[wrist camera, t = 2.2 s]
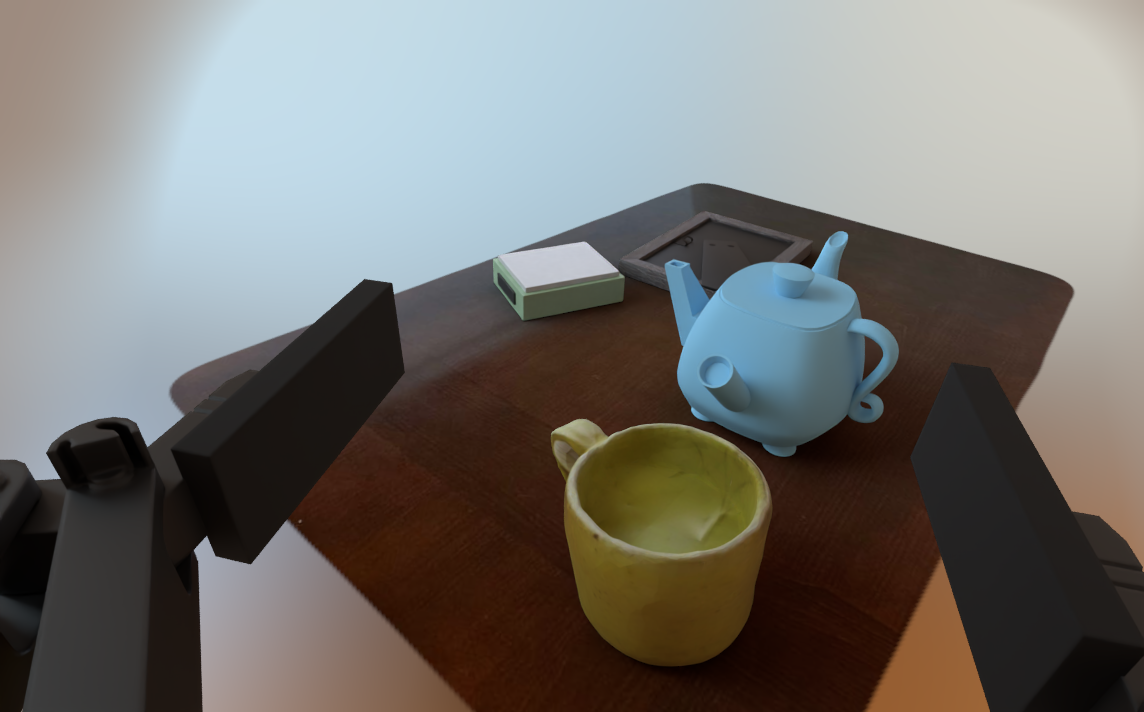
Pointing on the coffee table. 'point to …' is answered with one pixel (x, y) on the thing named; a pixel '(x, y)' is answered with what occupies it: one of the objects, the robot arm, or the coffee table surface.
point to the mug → (662, 536)
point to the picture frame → (712, 251)
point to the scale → (557, 280)
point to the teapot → (778, 350)
